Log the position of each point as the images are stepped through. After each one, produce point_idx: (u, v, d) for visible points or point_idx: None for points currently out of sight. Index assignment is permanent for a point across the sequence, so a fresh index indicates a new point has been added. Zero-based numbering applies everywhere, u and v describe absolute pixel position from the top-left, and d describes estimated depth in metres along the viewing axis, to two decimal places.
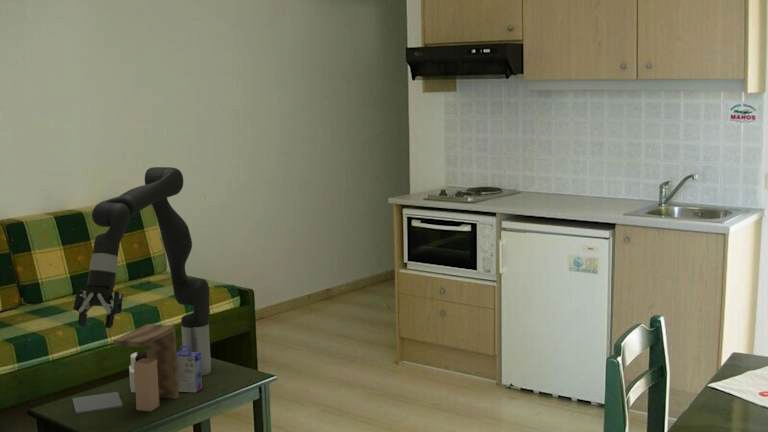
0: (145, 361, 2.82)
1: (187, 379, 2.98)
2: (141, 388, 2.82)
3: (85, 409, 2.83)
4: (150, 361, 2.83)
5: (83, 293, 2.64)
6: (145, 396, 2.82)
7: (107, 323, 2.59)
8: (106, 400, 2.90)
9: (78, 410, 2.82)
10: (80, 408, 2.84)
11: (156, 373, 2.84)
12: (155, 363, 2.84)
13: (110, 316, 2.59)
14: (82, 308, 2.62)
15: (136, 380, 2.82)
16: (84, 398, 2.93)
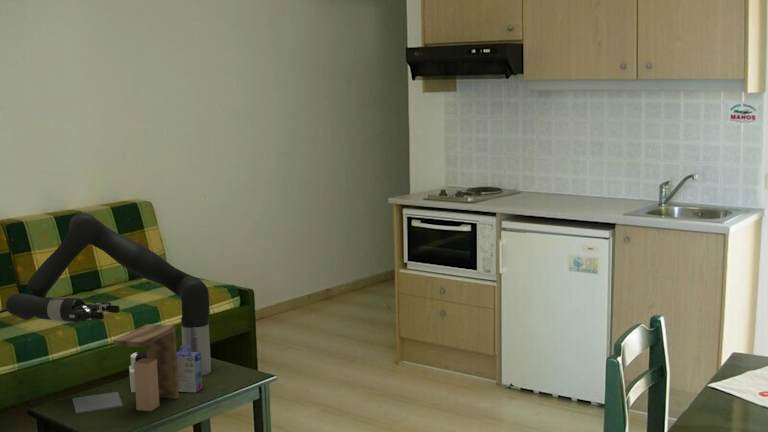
0: (145, 361, 2.82)
1: (187, 379, 2.98)
2: (141, 388, 2.82)
3: (85, 409, 2.83)
4: (150, 361, 2.83)
5: None
6: (145, 396, 2.82)
7: (99, 318, 2.80)
8: (106, 400, 2.90)
9: (78, 410, 2.82)
10: (80, 408, 2.84)
11: (156, 373, 2.84)
12: (155, 363, 2.84)
13: (92, 318, 2.80)
14: None
15: (136, 380, 2.82)
16: (84, 398, 2.93)
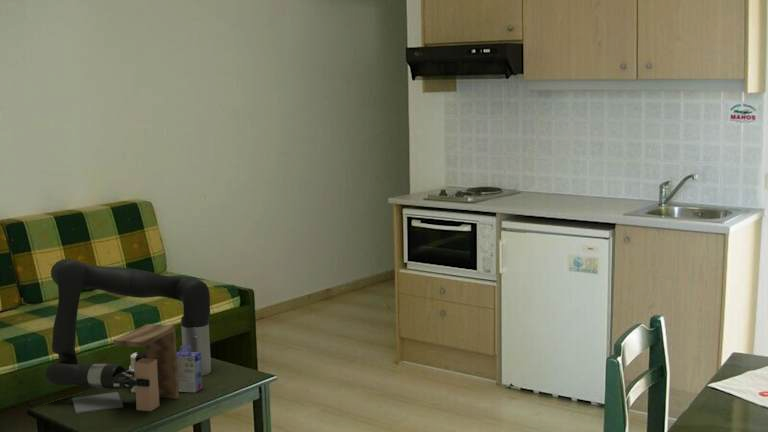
0: (145, 361, 2.82)
1: (187, 379, 2.98)
2: (141, 388, 2.82)
3: (85, 409, 2.83)
4: (150, 361, 2.83)
5: None
6: (145, 396, 2.82)
7: (145, 386, 2.80)
8: (106, 400, 2.90)
9: (78, 410, 2.82)
10: (80, 408, 2.84)
11: (156, 373, 2.84)
12: (155, 363, 2.84)
13: None
14: None
15: None
16: (84, 398, 2.93)
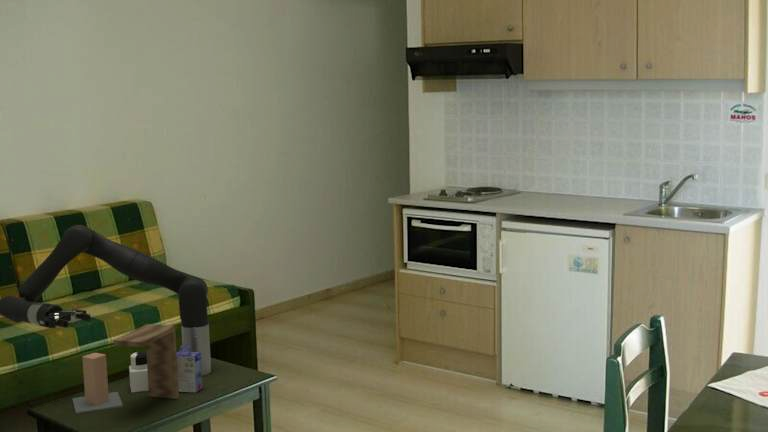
0: (94, 356, 2.87)
1: (187, 379, 2.98)
2: (88, 382, 2.87)
3: (85, 409, 2.83)
4: (98, 356, 2.87)
5: None
6: (92, 390, 2.86)
7: (64, 326, 2.86)
8: None
9: (78, 410, 2.82)
10: (80, 408, 2.84)
11: (105, 368, 2.88)
12: (103, 358, 2.88)
13: (58, 325, 2.87)
14: None
15: (84, 374, 2.87)
16: (84, 398, 2.93)
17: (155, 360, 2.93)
